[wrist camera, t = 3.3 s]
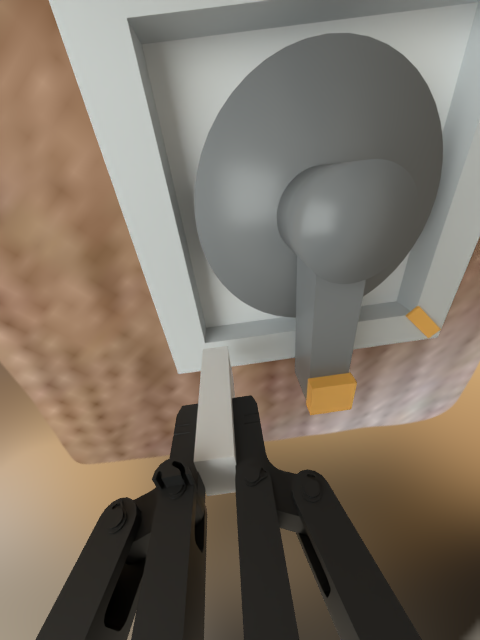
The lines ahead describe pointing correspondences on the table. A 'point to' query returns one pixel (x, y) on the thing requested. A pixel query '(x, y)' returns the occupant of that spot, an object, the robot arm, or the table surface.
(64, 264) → the table surface
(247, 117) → the dial
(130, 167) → the dial panel
